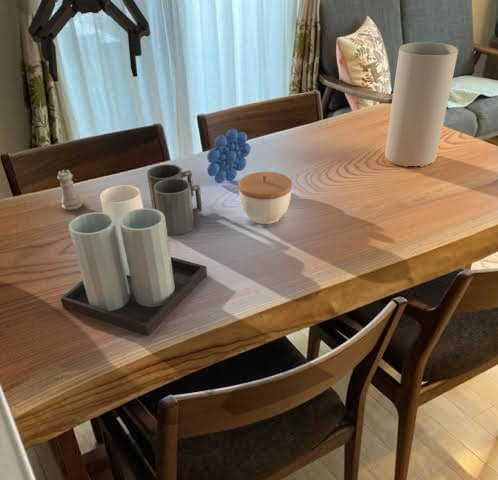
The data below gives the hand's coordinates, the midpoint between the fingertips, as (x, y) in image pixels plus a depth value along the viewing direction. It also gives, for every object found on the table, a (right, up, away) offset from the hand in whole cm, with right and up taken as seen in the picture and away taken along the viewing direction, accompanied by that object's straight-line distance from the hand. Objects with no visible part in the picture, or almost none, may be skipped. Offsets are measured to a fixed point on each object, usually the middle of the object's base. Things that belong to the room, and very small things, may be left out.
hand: (94, 75), depth 92 cm
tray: (+7, -37, +2) cm, 38 cm away
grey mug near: (+13, -22, +19) cm, 32 cm away
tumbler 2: (+10, -38, 0) cm, 39 cm away
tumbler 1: (+3, -39, -1) cm, 39 cm away
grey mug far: (+10, -18, +25) cm, 32 cm away
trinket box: (+30, -20, +21) cm, 42 cm away
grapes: (+22, -9, +36) cm, 42 cm away
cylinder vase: (+67, -2, +42) cm, 79 cm away
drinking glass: (+6, -33, +6) cm, 34 cm away
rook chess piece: (-12, -17, +27) cm, 34 cm away
